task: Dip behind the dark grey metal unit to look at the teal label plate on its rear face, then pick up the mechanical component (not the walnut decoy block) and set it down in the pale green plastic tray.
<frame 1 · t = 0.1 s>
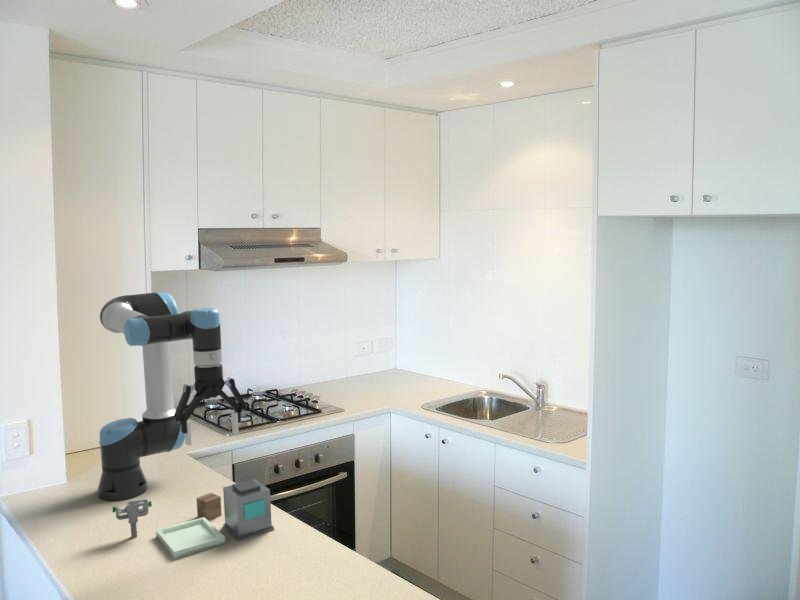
hand: (212, 439, 197), 28 cm above the counter, fingers open, 13 cm apart
tray: (190, 540, 198), on the counter
mechanical component: (134, 537, 200), on the counter
unit: (248, 528, 204), on the counter
walnut block: (209, 516, 213), on the counter
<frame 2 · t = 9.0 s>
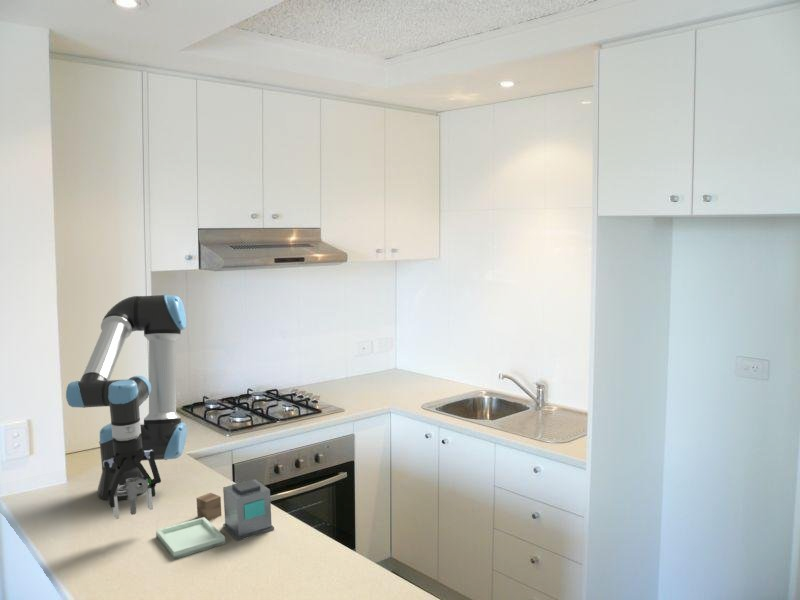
hand: (133, 512, 200), 7 cm above the counter, fingers closed on mechanical component, 9 cm apart
mechanical component: (133, 513, 200), point 6 cm above the counter, touching gripper
everything else where it was.
when the fingers open (3 cm above the counter, at t = 13.7 s): mechanical component drops 2 cm, resting on tray.
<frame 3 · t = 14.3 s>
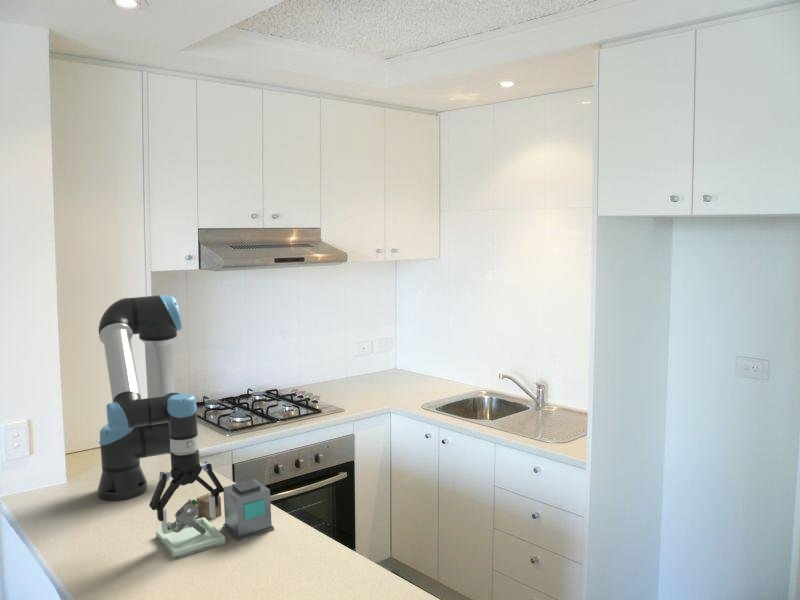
hand: (189, 524, 197), 5 cm above the counter, fingers open, 13 cm apart
mechanical component: (204, 532, 200), point 1 cm above the counter, touching gripper, tray
everything else where it was.
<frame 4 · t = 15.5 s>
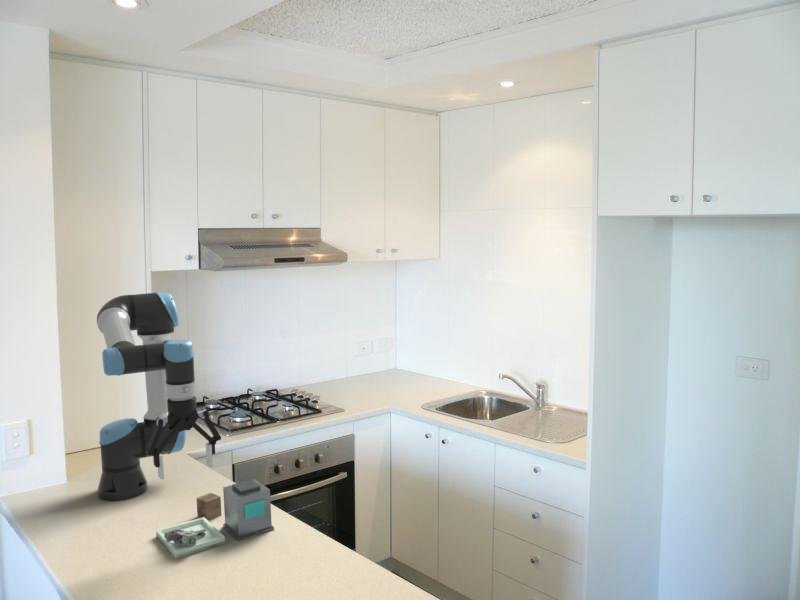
hand: (186, 471, 195), 20 cm above the counter, fingers open, 13 cm apart
mechanical component: (205, 532, 199), point 2 cm above the counter, touching tray
everything else where it was.
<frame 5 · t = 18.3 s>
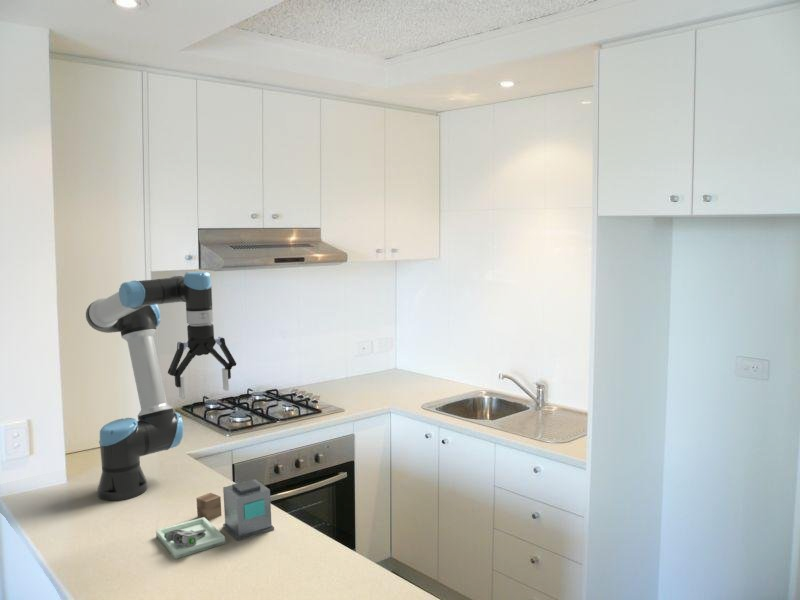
hand: (204, 393, 213), 37 cm above the counter, fingers open, 13 cm apart
nothing on the counter moved.
at the end: mechanical component inside the target area on the tray (4.1 cm from its centre), point 1.5 cm above the tray's base; the gripper is holding nothing; walnut block moved 0.1 cm from its start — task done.
